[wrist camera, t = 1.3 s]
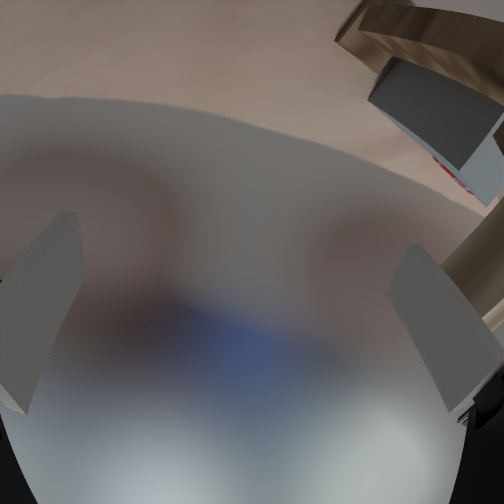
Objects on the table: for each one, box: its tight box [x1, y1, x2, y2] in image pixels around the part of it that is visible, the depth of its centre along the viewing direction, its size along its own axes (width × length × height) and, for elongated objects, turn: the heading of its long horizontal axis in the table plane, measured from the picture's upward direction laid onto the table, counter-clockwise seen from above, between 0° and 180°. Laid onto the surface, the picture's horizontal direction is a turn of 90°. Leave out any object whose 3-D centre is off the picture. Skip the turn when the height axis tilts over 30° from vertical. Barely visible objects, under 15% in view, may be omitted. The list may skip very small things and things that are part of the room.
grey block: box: [368, 59, 504, 207], centre depth 27 cm, size 8×11×20 cm
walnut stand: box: [335, 0, 504, 156], centre depth 18 cm, size 7×11×30 cm, turn 149°
